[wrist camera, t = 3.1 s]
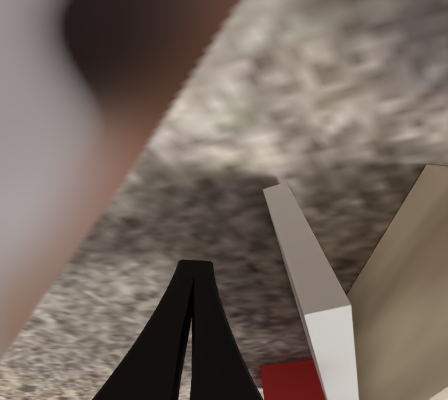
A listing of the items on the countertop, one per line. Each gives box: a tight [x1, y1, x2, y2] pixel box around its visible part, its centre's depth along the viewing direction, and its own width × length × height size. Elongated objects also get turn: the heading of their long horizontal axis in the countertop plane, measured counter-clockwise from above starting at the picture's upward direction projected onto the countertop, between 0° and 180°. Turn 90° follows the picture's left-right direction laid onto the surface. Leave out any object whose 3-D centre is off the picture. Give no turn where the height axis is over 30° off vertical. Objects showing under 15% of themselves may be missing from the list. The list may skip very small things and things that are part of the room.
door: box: [263, 182, 359, 400], centre depth 11 cm, size 1×13×6 cm, turn 19°
